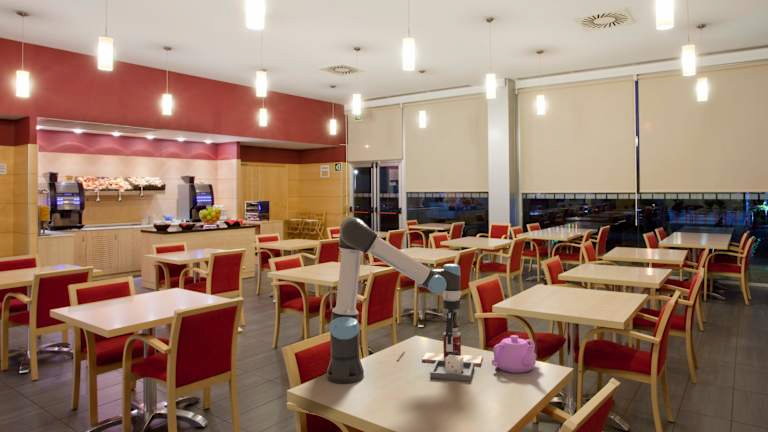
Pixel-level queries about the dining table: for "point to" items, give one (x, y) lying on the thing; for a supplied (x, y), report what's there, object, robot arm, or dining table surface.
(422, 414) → the dining table surface
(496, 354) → the teapot
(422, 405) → the dining table surface
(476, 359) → the board
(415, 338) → the dining table surface
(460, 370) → the cream cube
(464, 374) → the dice tray
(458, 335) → the canned food
